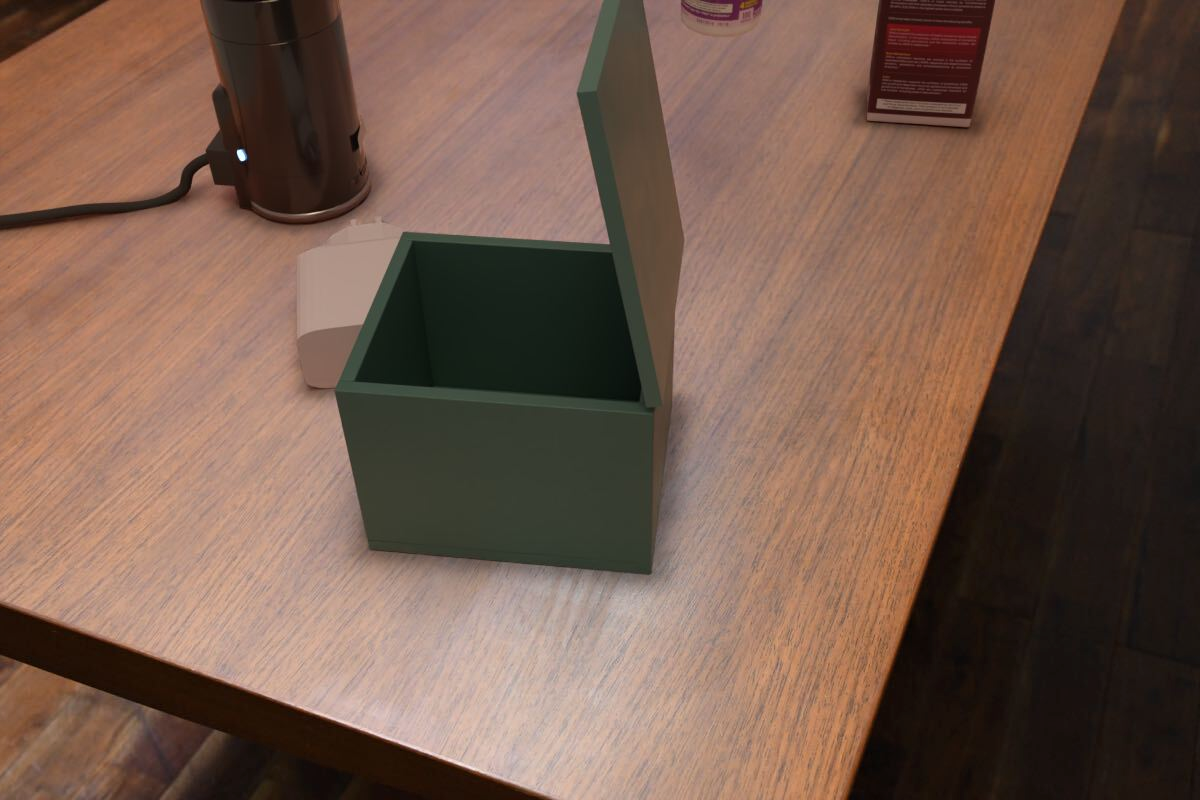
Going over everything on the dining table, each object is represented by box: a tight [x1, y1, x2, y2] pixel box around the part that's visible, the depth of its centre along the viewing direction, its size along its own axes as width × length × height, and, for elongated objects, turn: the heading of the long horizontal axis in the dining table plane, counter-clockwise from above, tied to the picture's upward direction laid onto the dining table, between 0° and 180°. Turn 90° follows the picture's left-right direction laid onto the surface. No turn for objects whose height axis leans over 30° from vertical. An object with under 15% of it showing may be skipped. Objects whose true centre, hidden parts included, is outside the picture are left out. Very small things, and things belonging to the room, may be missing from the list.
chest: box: [333, 231, 676, 575], centre depth 67 cm, size 16×14×12 cm
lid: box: [576, 0, 685, 408], centre depth 56 cm, size 16×14×1 cm
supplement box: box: [866, 0, 996, 128], centre depth 96 cm, size 9×5×16 cm, turn 80°
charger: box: [295, 215, 408, 389], centre depth 81 cm, size 5×9×15 cm
